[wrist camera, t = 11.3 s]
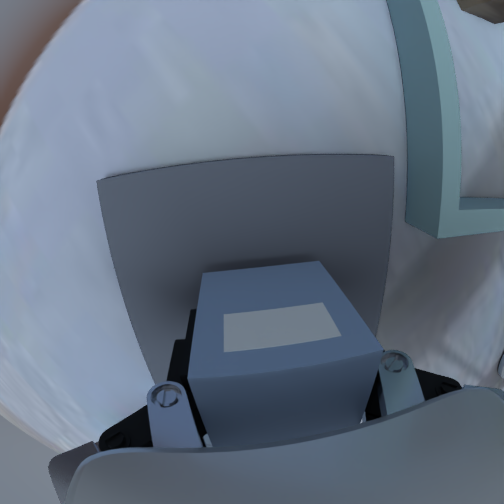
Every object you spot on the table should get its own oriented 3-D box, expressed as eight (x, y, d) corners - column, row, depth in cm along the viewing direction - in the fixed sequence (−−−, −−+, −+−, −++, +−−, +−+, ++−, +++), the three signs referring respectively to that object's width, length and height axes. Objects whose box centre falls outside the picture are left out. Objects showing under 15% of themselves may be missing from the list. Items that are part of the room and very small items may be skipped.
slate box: (319, 260, 12) (383, 348, 6) (314, 348, 14) (352, 442, 8) (202, 272, 12) (187, 378, 6) (219, 360, 14) (219, 463, 8)
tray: (503, -17, 6) (521, -22, 3) (537, 214, 15) (559, 223, 12) (345, -98, 5) (359, -117, 2) (405, 221, 14) (437, 238, 11)
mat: (383, 155, 13) (394, 156, 12) (361, 364, 18) (366, 373, 17) (104, 178, 12) (96, 180, 11) (163, 388, 17) (161, 399, 16)
